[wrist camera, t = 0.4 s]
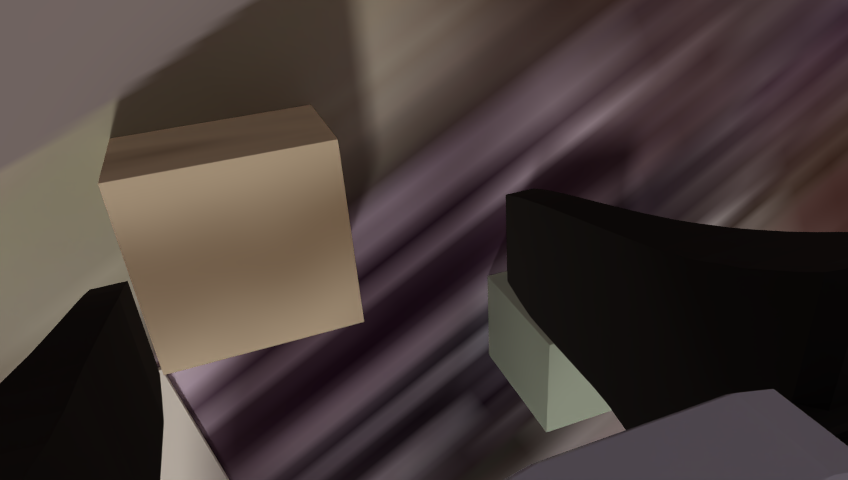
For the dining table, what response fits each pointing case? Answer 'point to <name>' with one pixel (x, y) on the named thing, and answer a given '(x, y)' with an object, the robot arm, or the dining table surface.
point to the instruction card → (184, 442)
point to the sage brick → (536, 363)
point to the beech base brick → (234, 233)
